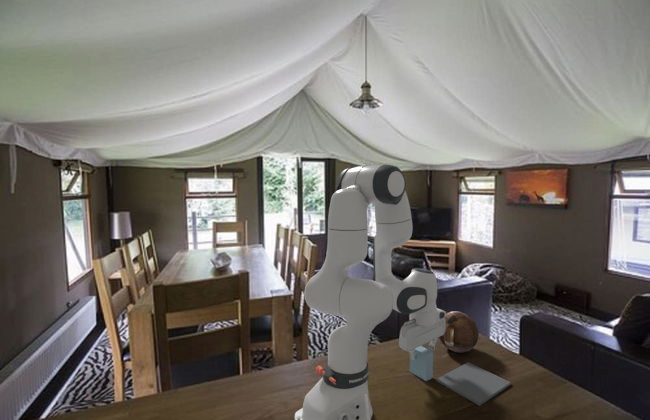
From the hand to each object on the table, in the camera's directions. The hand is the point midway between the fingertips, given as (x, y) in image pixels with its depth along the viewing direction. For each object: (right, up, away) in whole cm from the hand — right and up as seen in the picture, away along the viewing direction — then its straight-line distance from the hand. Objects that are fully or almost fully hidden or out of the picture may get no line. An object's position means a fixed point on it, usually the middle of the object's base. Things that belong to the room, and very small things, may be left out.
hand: (422, 354), depth 113 cm
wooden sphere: (+18, -6, +16) cm, 25 cm away
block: (-1, -7, 0) cm, 7 cm away
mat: (+15, -7, -5) cm, 17 cm away
